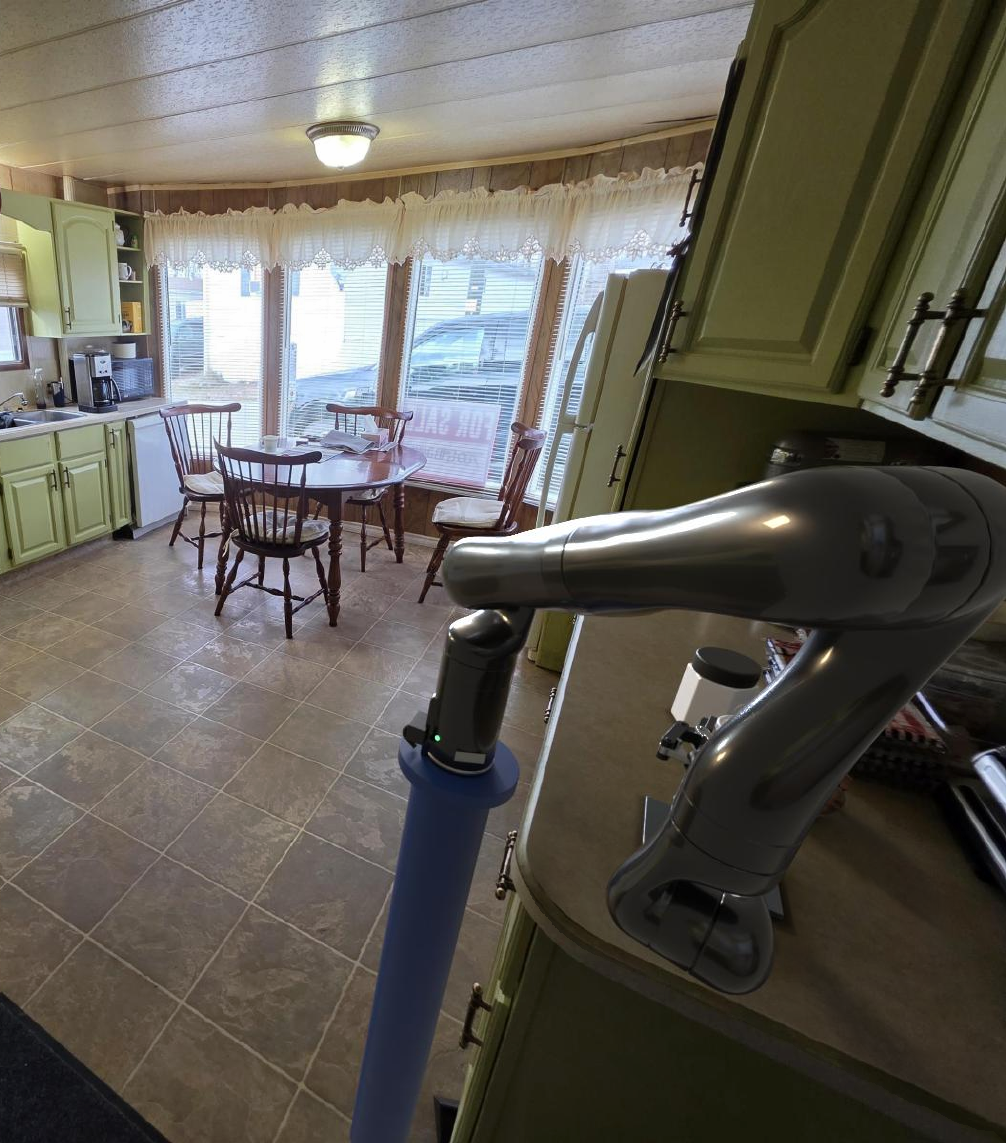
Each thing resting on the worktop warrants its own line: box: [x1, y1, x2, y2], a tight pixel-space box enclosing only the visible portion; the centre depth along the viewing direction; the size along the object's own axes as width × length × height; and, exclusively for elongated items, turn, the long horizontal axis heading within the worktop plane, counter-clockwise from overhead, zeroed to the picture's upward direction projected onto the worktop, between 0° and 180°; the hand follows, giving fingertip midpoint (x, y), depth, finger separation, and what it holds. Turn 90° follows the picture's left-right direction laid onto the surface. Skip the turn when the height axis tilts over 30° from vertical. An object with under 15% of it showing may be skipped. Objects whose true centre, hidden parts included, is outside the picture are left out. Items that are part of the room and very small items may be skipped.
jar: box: [670, 646, 763, 735], centre depth 94 cm, size 9×8×12 cm
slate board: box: [641, 796, 785, 921], centre depth 72 cm, size 13×12×1 cm
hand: (748, 737), depth 69 cm, fingers closed on smoothie, 6 cm apart
